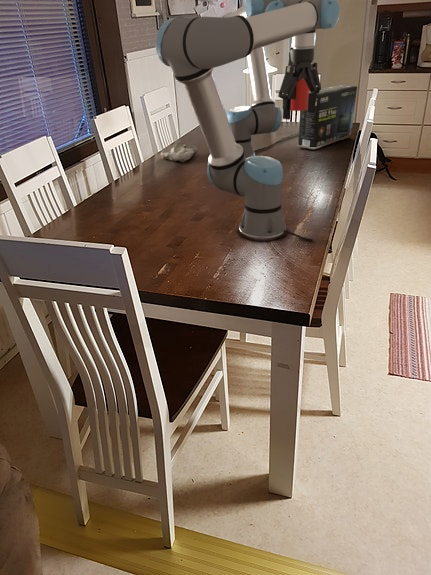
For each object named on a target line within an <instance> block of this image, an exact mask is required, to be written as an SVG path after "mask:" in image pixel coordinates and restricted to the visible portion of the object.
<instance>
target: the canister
mask: <svg viewBox="0 0 431 575" xmlns="http://www.w3.org/2000/svg"><path fill="white" fill-rule="evenodd" d="M309 93H310V90H309V88H308V86H307V84H306V81H305V79H301V80H299V81H298V82H297V84H296V99H291V111H293V112H300V111H304V110H308V96H309Z"/></svg>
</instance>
